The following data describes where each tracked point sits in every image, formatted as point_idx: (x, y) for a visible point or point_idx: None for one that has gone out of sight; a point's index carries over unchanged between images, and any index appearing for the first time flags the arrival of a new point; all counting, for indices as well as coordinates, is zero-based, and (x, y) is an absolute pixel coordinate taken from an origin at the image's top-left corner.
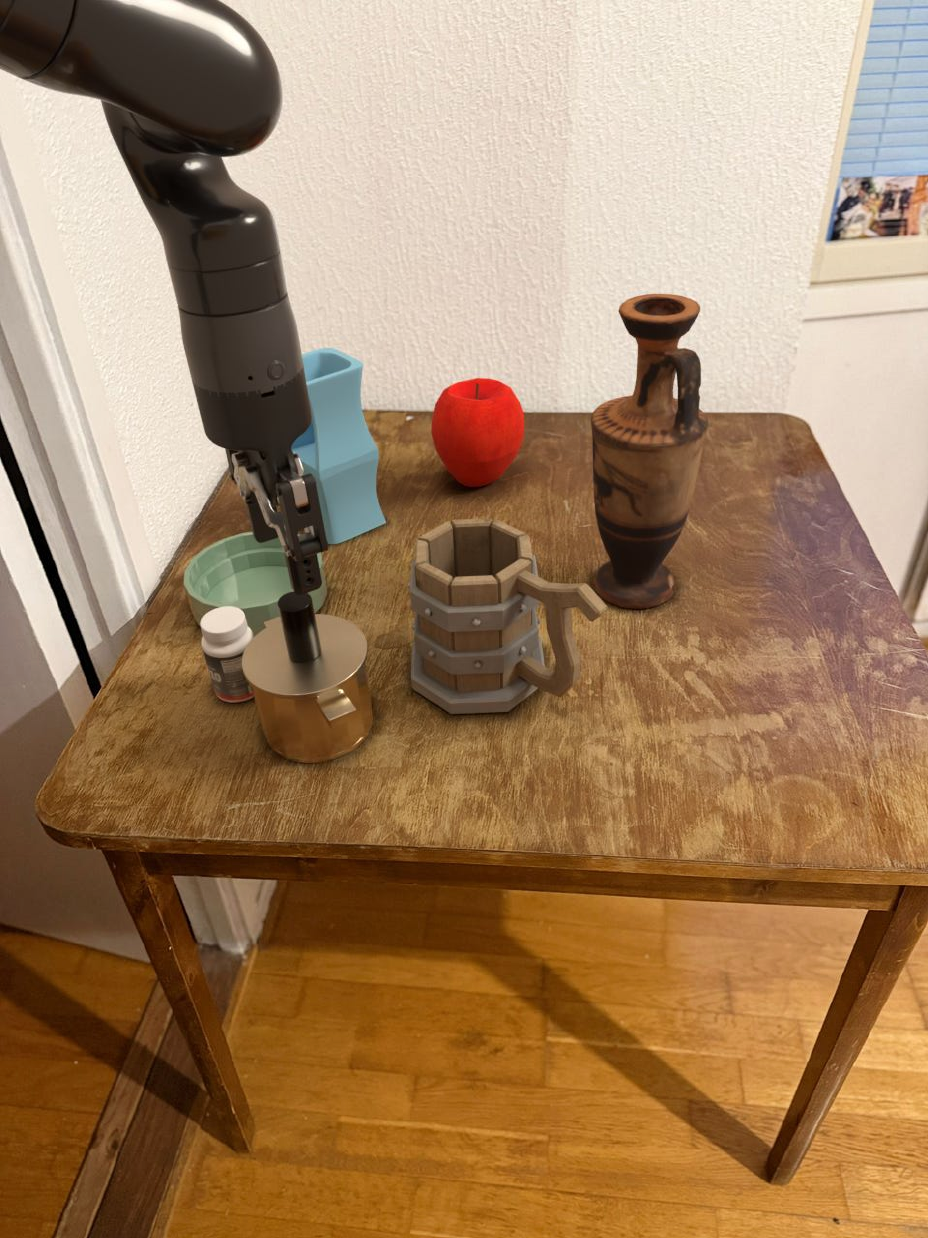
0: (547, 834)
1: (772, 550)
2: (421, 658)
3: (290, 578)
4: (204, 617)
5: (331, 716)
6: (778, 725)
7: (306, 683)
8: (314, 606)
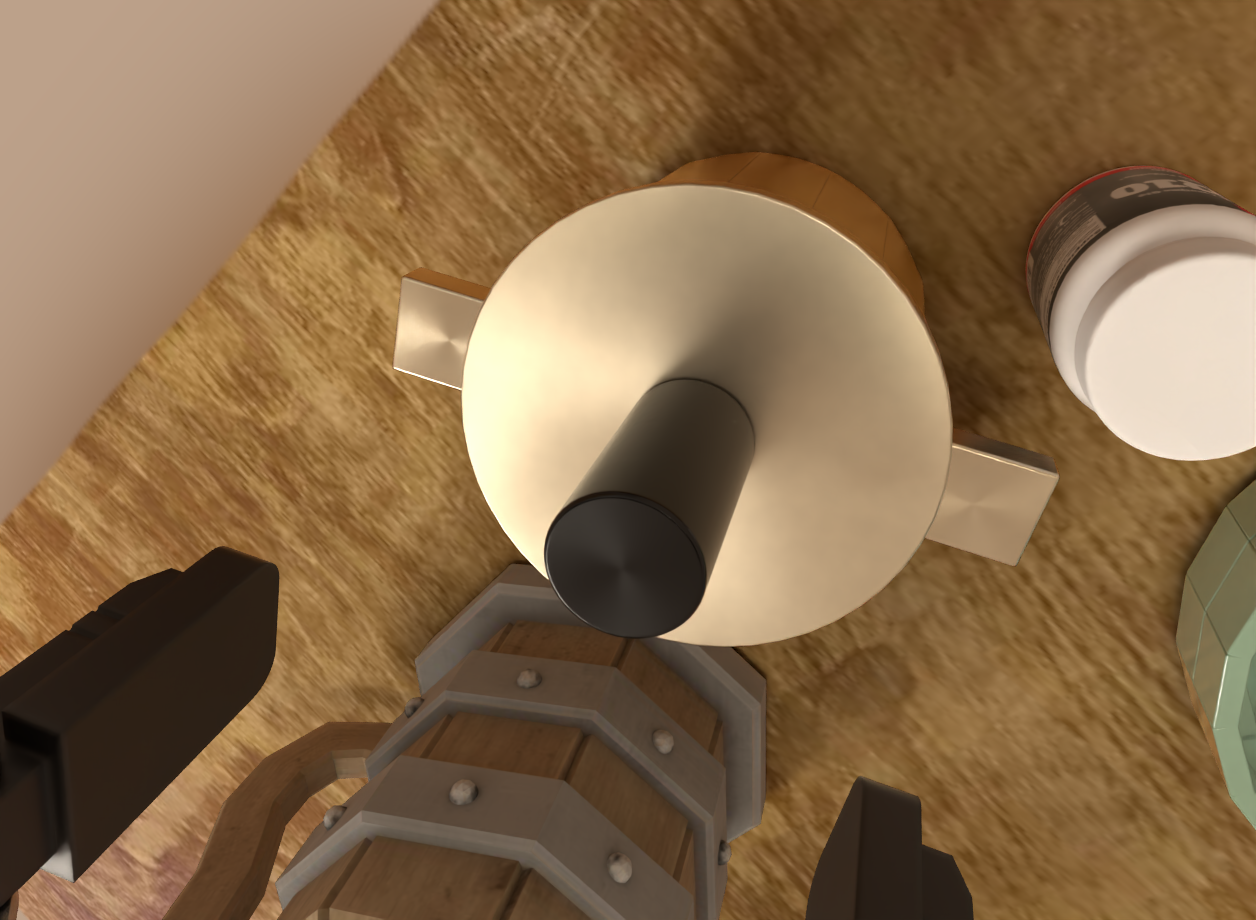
0: (129, 424)
1: None
2: (678, 667)
3: (192, 601)
4: None
5: (411, 293)
6: (129, 844)
7: (537, 328)
8: (1189, 681)
